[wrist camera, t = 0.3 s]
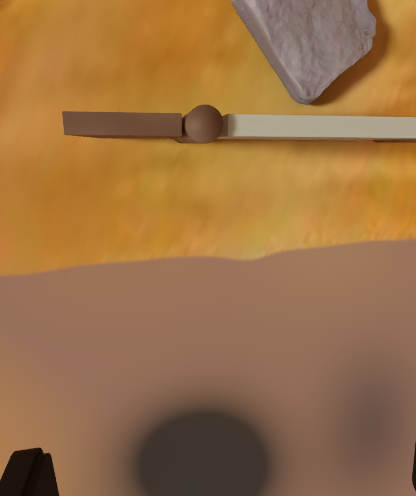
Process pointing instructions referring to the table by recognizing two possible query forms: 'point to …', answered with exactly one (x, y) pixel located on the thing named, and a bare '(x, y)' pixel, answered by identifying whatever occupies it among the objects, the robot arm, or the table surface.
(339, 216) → the table surface
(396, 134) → the door
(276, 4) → the stone block
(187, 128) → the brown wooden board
